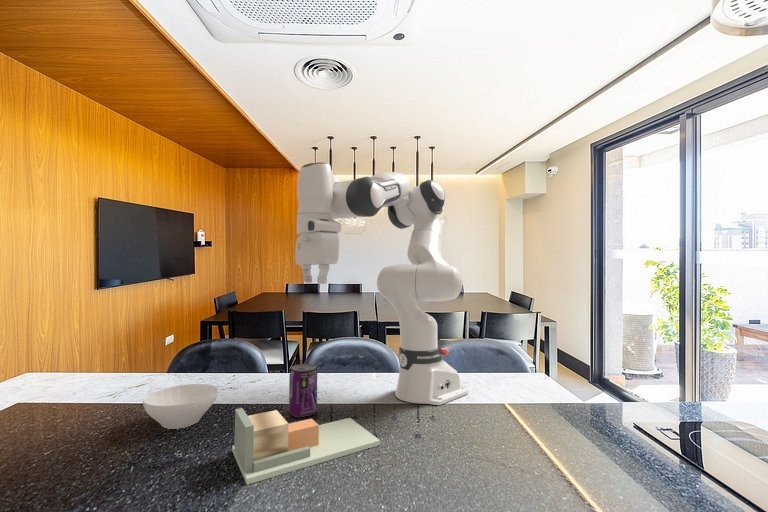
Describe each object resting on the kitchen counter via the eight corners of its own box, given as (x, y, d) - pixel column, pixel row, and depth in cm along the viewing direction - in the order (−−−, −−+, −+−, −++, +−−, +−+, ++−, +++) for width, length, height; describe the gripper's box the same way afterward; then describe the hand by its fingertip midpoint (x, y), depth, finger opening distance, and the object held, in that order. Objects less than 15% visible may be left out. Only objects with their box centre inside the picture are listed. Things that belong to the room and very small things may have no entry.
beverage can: (310, 420, 89) (311, 371, 90) (283, 418, 91) (284, 369, 91) (321, 409, 96) (321, 364, 97) (296, 407, 98) (296, 362, 98)
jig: (350, 421, 88) (350, 384, 89) (379, 445, 77) (380, 401, 77) (232, 450, 74) (233, 406, 74) (246, 484, 62) (247, 431, 63)
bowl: (228, 422, 88) (229, 393, 88) (153, 445, 76) (154, 411, 76) (203, 406, 99) (203, 380, 99) (133, 423, 87) (134, 394, 87)
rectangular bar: (311, 437, 78) (311, 418, 78) (318, 444, 75) (318, 425, 75) (253, 452, 71) (254, 431, 72) (258, 461, 68) (259, 439, 68)
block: (276, 441, 76) (276, 410, 76) (287, 458, 69) (288, 423, 69) (243, 449, 72) (244, 416, 73) (252, 467, 66) (253, 431, 66)
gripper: (289, 230, 97) (288, 282, 96) (318, 221, 79) (318, 284, 79) (311, 231, 100) (311, 281, 99) (344, 223, 83) (344, 284, 82)
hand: (314, 283), depth 89 cm, fingers open, 8 cm apart
